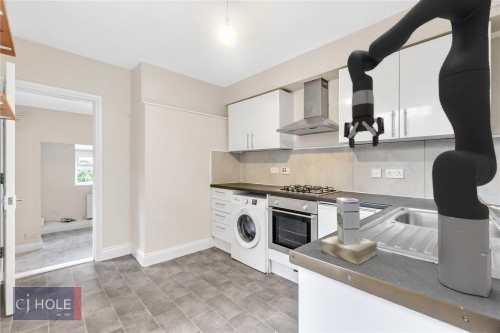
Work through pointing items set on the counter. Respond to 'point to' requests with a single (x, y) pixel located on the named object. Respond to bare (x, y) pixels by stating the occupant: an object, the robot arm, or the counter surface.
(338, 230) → the syrup box
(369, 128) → the robot arm
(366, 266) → the counter surface
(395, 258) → the counter surface
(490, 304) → the counter surface
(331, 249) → the beige flat block
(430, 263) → the counter surface
